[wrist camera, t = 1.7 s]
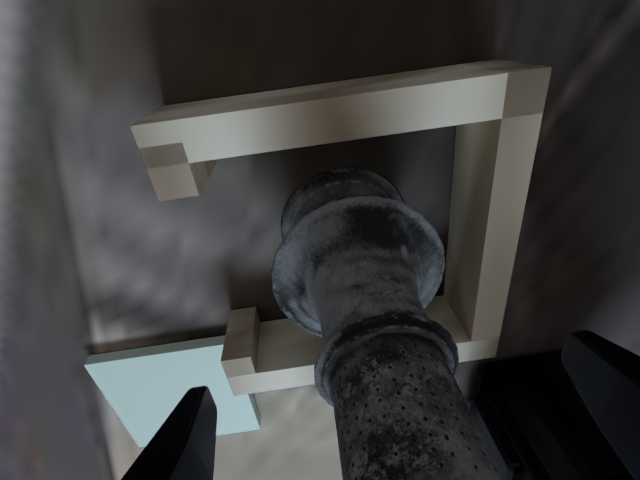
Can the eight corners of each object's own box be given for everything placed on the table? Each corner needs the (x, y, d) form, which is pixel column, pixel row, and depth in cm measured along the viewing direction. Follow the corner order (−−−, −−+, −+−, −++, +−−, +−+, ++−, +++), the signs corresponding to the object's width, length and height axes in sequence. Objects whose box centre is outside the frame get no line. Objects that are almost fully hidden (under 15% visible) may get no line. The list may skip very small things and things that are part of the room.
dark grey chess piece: (308, 300, 17) (343, 724, 7) (248, 196, 14) (142, 660, 4) (427, 255, 16) (679, 654, 6) (390, 134, 13) (760, 503, 3)
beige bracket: (495, 59, 12) (551, 66, 10) (465, 310, 18) (495, 357, 15) (163, 105, 12) (130, 125, 9) (241, 343, 18) (233, 396, 15)
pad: (231, 334, 18) (230, 343, 17) (260, 419, 21) (260, 428, 21) (89, 355, 17) (83, 365, 17) (142, 436, 21) (139, 447, 20)
